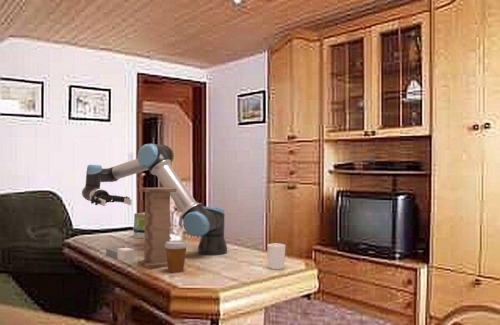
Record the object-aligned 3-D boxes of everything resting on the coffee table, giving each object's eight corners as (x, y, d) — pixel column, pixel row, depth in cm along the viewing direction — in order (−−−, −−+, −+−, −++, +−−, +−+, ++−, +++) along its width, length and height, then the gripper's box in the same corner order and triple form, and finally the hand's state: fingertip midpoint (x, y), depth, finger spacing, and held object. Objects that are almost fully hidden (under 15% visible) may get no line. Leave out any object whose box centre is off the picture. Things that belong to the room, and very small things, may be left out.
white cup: (279, 270, 194) (280, 247, 194) (263, 268, 199) (264, 245, 199) (288, 267, 201) (288, 244, 201) (272, 265, 205) (272, 242, 205)
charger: (105, 255, 223) (105, 244, 223) (114, 253, 226) (114, 243, 226) (124, 261, 208) (124, 250, 208) (134, 260, 212) (134, 249, 212)
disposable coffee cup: (188, 272, 189) (189, 243, 189) (165, 274, 186) (165, 244, 186) (185, 267, 198) (185, 239, 198) (163, 268, 195) (163, 240, 195)
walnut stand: (137, 264, 203) (138, 187, 204) (161, 260, 211) (162, 187, 211) (151, 269, 194) (152, 189, 194) (175, 265, 202) (176, 188, 202)
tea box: (147, 239, 271) (147, 214, 271) (133, 238, 274) (133, 213, 274) (161, 235, 285) (161, 211, 285) (147, 234, 288) (147, 211, 288)
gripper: (121, 203, 247) (140, 209, 231) (75, 204, 230) (92, 211, 214) (122, 189, 247) (141, 194, 231) (76, 189, 230) (93, 195, 214)
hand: (118, 202), depth 223 cm, fingers open, 13 cm apart
